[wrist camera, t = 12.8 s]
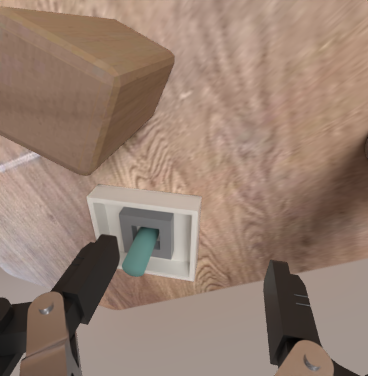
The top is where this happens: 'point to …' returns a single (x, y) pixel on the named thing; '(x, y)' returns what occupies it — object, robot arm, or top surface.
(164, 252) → the bin
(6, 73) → the wooden block
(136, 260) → the peg
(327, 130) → the top surface
